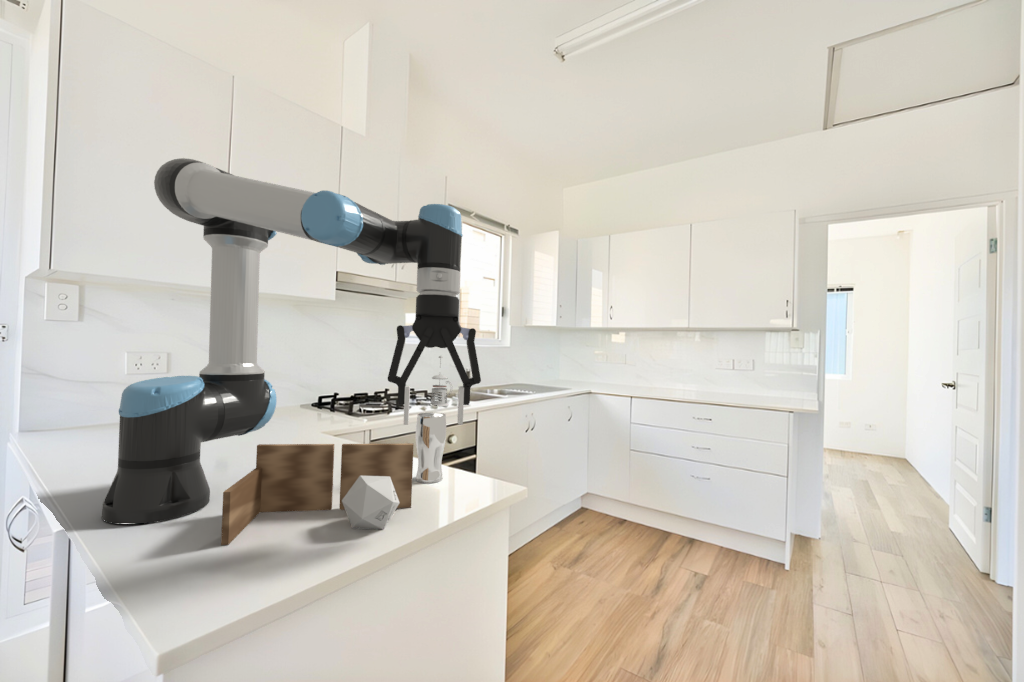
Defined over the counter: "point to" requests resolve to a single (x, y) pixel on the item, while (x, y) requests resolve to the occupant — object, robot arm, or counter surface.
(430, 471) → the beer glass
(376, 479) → the die
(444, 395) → the french press
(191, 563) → the counter surface
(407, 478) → the panel
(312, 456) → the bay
